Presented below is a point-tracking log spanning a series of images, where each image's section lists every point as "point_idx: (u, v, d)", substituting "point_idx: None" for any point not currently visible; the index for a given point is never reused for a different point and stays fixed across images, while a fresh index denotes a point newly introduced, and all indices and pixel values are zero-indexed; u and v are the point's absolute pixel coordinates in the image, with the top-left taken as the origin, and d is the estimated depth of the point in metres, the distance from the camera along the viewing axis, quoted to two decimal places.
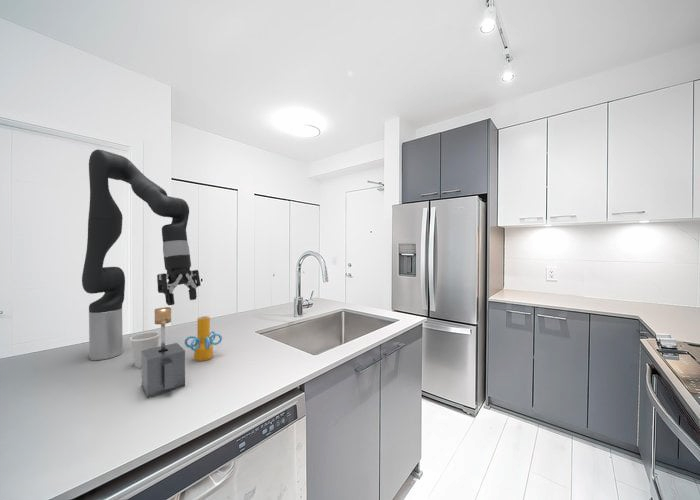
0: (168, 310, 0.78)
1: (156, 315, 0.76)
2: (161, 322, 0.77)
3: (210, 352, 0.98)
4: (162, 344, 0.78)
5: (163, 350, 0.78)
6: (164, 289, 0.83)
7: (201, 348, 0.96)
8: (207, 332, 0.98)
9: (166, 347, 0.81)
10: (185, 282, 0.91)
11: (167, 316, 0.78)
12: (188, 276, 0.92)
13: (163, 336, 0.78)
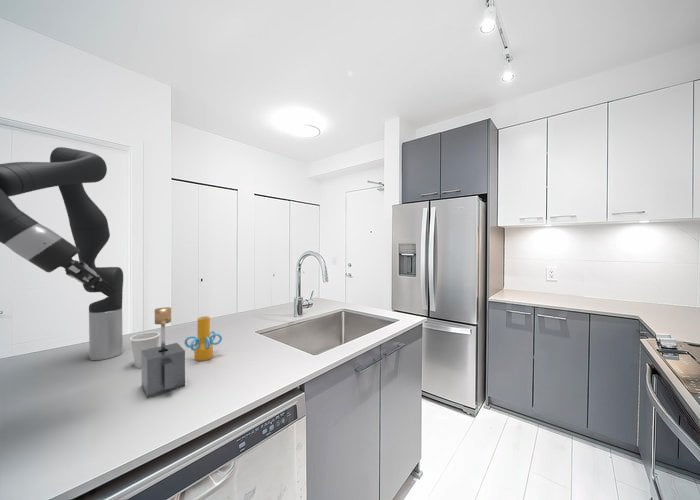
0: (168, 310, 0.78)
1: (156, 315, 0.76)
2: (161, 322, 0.77)
3: (210, 352, 0.98)
4: (162, 344, 0.78)
5: (163, 350, 0.78)
6: None
7: (201, 348, 0.96)
8: (207, 332, 0.98)
9: (166, 347, 0.81)
10: None
11: (167, 316, 0.78)
12: (70, 276, 0.63)
13: (163, 336, 0.78)
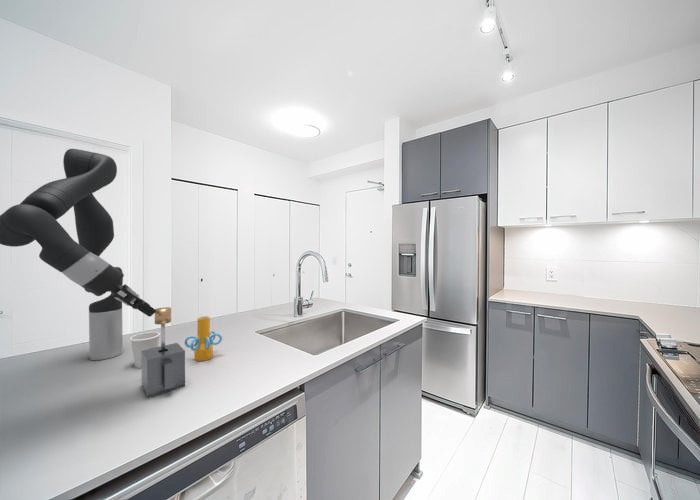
0: (168, 310, 0.78)
1: (156, 315, 0.76)
2: (161, 322, 0.77)
3: (210, 352, 0.98)
4: (162, 344, 0.78)
5: (163, 350, 0.78)
6: None
7: (201, 348, 0.96)
8: (207, 332, 0.98)
9: (166, 347, 0.81)
10: None
11: (167, 316, 0.78)
12: (116, 299, 0.70)
13: (163, 336, 0.78)
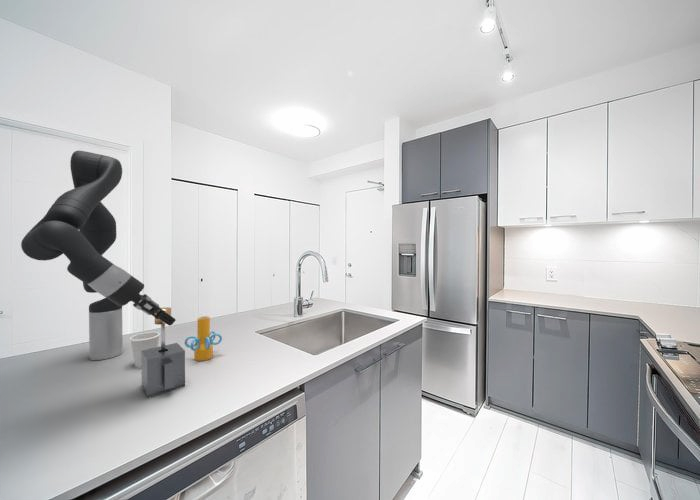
0: (168, 310, 0.78)
1: None
2: (161, 322, 0.77)
3: (210, 352, 0.98)
4: (162, 344, 0.78)
5: (163, 350, 0.78)
6: None
7: (201, 348, 0.96)
8: (207, 332, 0.98)
9: (166, 347, 0.81)
10: None
11: None
12: None
13: (163, 336, 0.78)
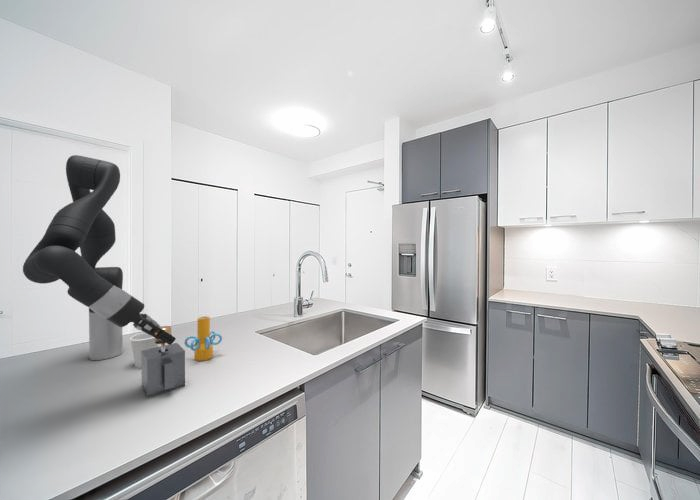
0: (168, 329, 0.78)
1: None
2: (161, 341, 0.77)
3: (210, 352, 0.98)
4: None
5: None
6: None
7: (201, 348, 0.96)
8: (207, 332, 0.98)
9: (166, 347, 0.81)
10: None
11: None
12: (138, 329, 0.73)
13: None
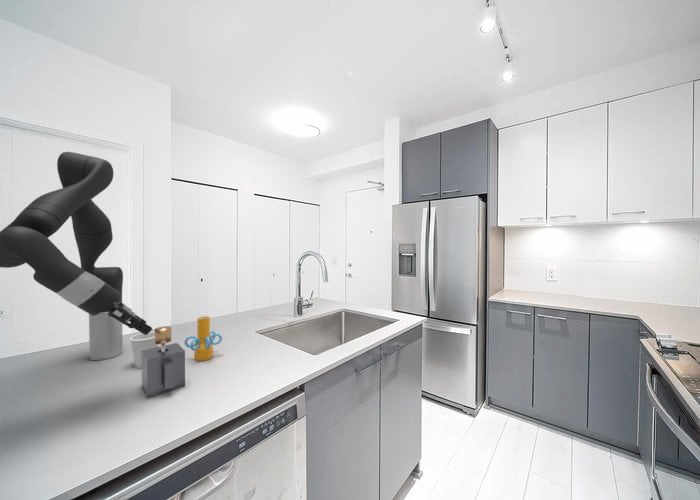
0: (168, 329, 0.78)
1: (156, 335, 0.77)
2: (161, 342, 0.77)
3: (210, 352, 0.98)
4: None
5: None
6: None
7: (201, 348, 0.96)
8: (207, 332, 0.98)
9: (166, 347, 0.81)
10: None
11: (167, 335, 0.78)
12: (112, 318, 0.69)
13: None
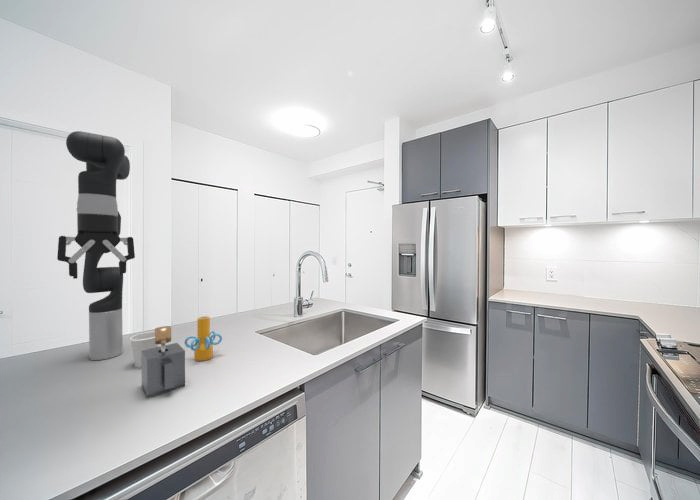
0: (168, 329, 0.78)
1: (156, 335, 0.77)
2: (161, 342, 0.77)
3: (210, 352, 0.98)
4: None
5: None
6: (59, 257, 0.63)
7: (201, 348, 0.96)
8: (207, 332, 0.98)
9: (166, 347, 0.81)
10: (104, 251, 0.68)
11: (167, 335, 0.78)
12: (108, 244, 0.68)
13: None
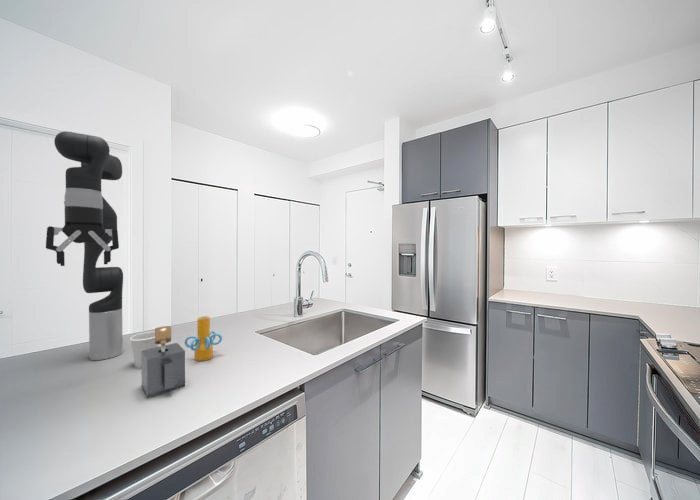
0: (168, 329, 0.78)
1: (156, 335, 0.77)
2: (161, 342, 0.77)
3: (210, 352, 0.98)
4: None
5: None
6: (47, 245, 0.68)
7: (201, 348, 0.96)
8: (207, 332, 0.98)
9: (166, 347, 0.81)
10: (90, 241, 0.74)
11: (167, 335, 0.78)
12: (93, 234, 0.74)
13: None
